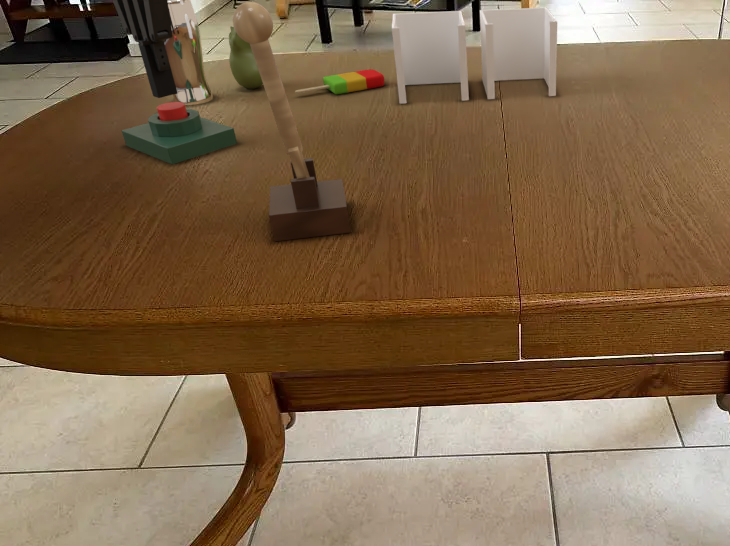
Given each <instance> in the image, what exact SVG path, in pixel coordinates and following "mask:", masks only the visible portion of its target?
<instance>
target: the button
mask: <svg viewBox="0 0 730 546" xmlns="http://www.w3.org/2000/svg"><path fill="white" fill-rule="evenodd" d="M186 109H187V108H186V105H185V104H184V103H181V102H174V101H171V102H165V103H161V104H159V105H158V106H156V110H157V113H158V114H159V117H160V120H161V121H173V120H180V119H183V118H186V117H188V114H187V111H186Z"/></svg>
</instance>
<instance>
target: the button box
mask: <svg viewBox="0 0 730 546" xmlns="http://www.w3.org/2000/svg"><path fill="white" fill-rule="evenodd" d="M186 111H187V114H188V117H186V118H183V119H180V120H173V121H161V120H160V117H159V114H158V112H156V113H153V114H152V115H150V116H148V119H147V120H148V122H147V123H143V124H140V125H136V126H132V127H129V128H124V129H122V130H121V133H122V137H123V140H124V143H125V146H126V147H128V148H131V149H133V150H136V151H138V152H140V153H143V154H145V155H148V156H150V157H153V158H155V159H158V160H160V161H163V162H165V163H168V164H171V165H175V164H178V163H181V162H184V161H187V160H190V159H193V158H197V157H199V156H203V155H206V154H209V153H212V152H215V151H218V150H221V149H224V148H225V149H226V148H228V147H231V146H235V145H237V144H238V140H237V137H236V132H235V128H234V127H231V126H228V125H225V124H222V123H219V122H216V121H213V120H210V119H208V118H204V117H202V116H200V112H199V111H198V110H195V109H192V108H186Z"/></svg>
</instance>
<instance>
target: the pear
mask: <svg viewBox="0 0 730 546" xmlns="http://www.w3.org/2000/svg"><path fill="white" fill-rule="evenodd" d="M229 28H230V29H229V30H230V32H229V34H228V45H229V48H230V51H229V52H230V53H229V60H228V62H229V69H230V71H231V74H232V76H233V78H234V80H235V81H236V82H237V84H238V85H239V86H241V87H242V88H245V89H249V90H250V89H251V90H254V89H258V88H260V87H262V86H264V85H263V82H262V79H261V76H260V73H259V70H258V67H257V64H256V61H255V58H254V55H253V52H252V49H251V46H250V43H248V42H246V41H244V40H243V39H241V38H240V37H239V36H238V34H237V33H236V31H235V29H234V26H233V25H232V26H230V27H229Z"/></svg>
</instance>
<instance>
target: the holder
mask: <svg viewBox="0 0 730 546" xmlns="http://www.w3.org/2000/svg"><path fill="white" fill-rule="evenodd" d="M304 160H305V163H306V167H307V170H308V173H309V176H310V177H306V178H297V176H296V173H295V170H294V167H293V164H292V161H291V160H290V167H291V172H292V177H293V178H290V184H282V185H272V186H271V185H270V186H269V202H268V203H269V206H268V217H269V218H268V219H269V222H270V226H271V232H272V235H273V239H274V242H282V241H291V240H298V239H299V240H300V239H308V238H316V237H323V236H333V235H334V236H335V235H341V234H342V235H343V234H348V233H349V234H350V233H352V230H351V223H350V218H349V212H348V207H347V200H346V199H347V198H346V193H345V188H344V179H343V178H338V179H328V180H318V178H317V173H316V167H315V161H314V158H312V157H310V158H304Z"/></svg>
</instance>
